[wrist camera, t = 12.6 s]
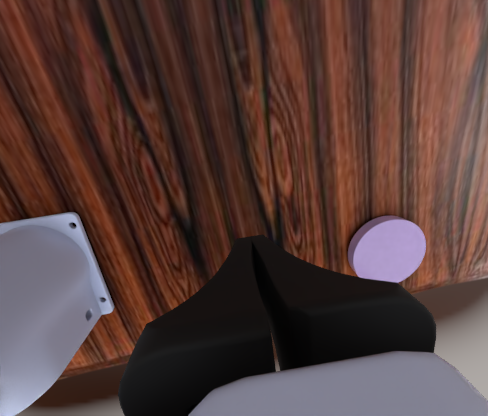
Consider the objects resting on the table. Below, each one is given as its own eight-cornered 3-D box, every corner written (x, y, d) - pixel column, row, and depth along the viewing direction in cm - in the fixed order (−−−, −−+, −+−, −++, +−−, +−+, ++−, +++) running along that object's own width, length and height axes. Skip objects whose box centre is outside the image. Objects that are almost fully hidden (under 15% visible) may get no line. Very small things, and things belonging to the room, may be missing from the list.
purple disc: (411, 271, 23) (422, 279, 21) (345, 282, 22) (353, 292, 21) (416, 208, 21) (430, 213, 19) (344, 220, 20) (353, 226, 19)
